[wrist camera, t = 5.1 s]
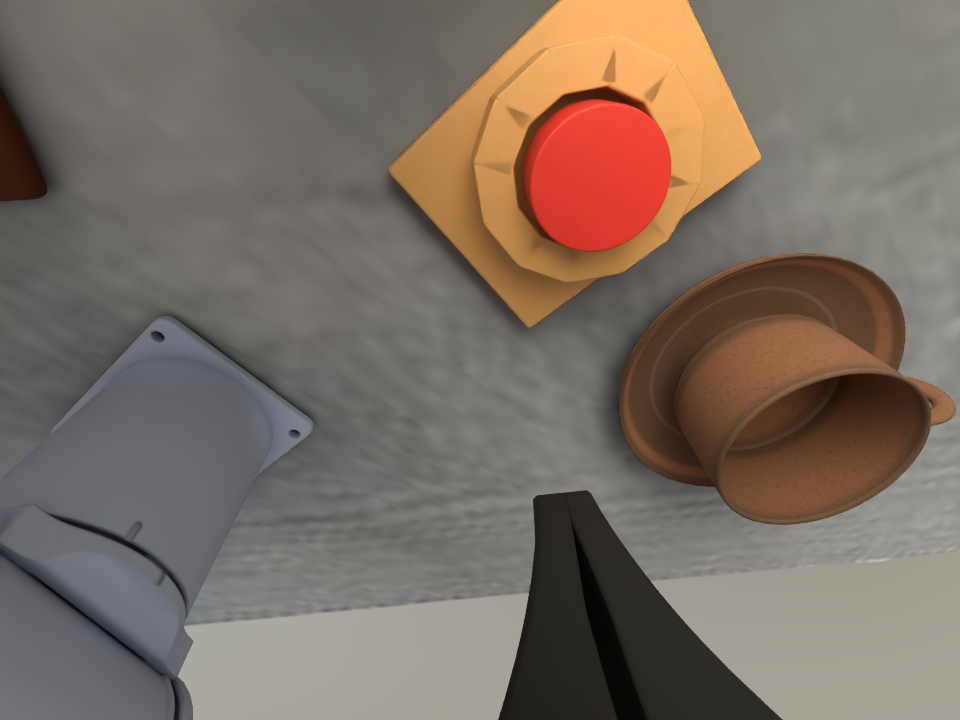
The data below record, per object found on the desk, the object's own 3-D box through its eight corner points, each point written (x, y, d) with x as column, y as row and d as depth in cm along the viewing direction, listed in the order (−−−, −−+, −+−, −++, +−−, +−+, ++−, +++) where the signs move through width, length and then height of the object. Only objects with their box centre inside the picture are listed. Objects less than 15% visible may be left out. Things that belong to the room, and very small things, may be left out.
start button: (569, 259, 16) (580, 278, 15) (496, 164, 15) (500, 175, 13) (673, 180, 15) (697, 191, 13) (607, 65, 13) (625, 65, 12)
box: (525, 314, 20) (535, 352, 18) (391, 163, 17) (378, 180, 14) (742, 152, 17) (795, 168, 15) (632, -73, 14) (674, -107, 11)
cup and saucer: (859, 183, 18) (1024, 230, 13) (879, 403, 24) (998, 498, 19) (568, 320, 21) (607, 406, 15) (650, 489, 26) (698, 593, 21)
